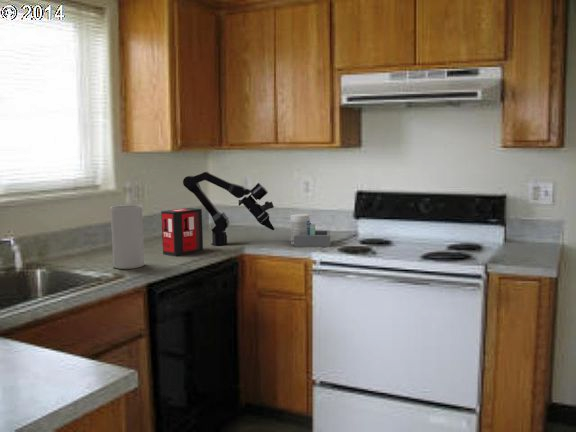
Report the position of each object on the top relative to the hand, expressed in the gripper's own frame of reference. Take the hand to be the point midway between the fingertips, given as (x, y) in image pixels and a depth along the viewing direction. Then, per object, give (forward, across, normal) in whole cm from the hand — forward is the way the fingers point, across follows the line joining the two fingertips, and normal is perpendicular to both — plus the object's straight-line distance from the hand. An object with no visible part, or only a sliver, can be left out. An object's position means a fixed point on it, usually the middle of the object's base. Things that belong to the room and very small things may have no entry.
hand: (273, 229), depth 301 cm
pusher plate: (+18, -2, -10) cm, 21 cm away
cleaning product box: (-21, -15, +39) cm, 47 cm away
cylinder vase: (-31, -44, +56) cm, 77 cm away
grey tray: (+18, -2, -9) cm, 20 cm away
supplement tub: (+14, -1, -5) cm, 15 cm away
